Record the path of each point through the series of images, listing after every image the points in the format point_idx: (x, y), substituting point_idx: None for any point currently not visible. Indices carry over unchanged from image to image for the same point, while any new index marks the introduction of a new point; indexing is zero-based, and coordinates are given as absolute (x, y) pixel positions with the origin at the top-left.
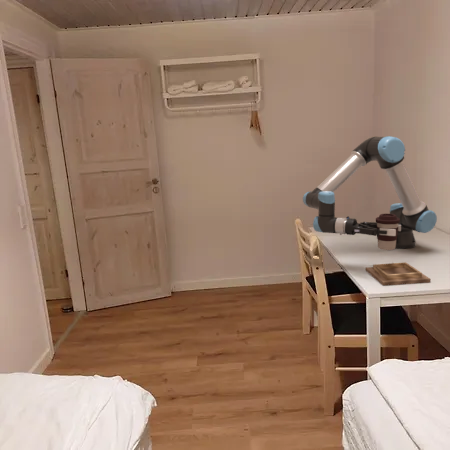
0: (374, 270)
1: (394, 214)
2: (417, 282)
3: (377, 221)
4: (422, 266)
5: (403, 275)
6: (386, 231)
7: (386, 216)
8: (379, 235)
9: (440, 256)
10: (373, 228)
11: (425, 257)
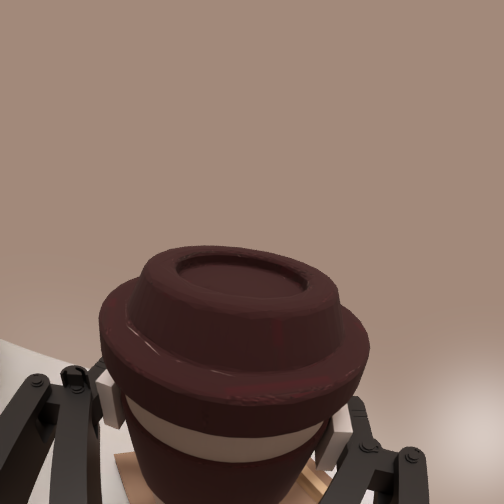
0: None
1: (198, 246)
2: None
3: (341, 400)
4: (103, 420)
5: (310, 474)
6: (358, 398)
7: (331, 281)
8: (292, 484)
9: (20, 355)
10: (358, 487)
11: (15, 385)
